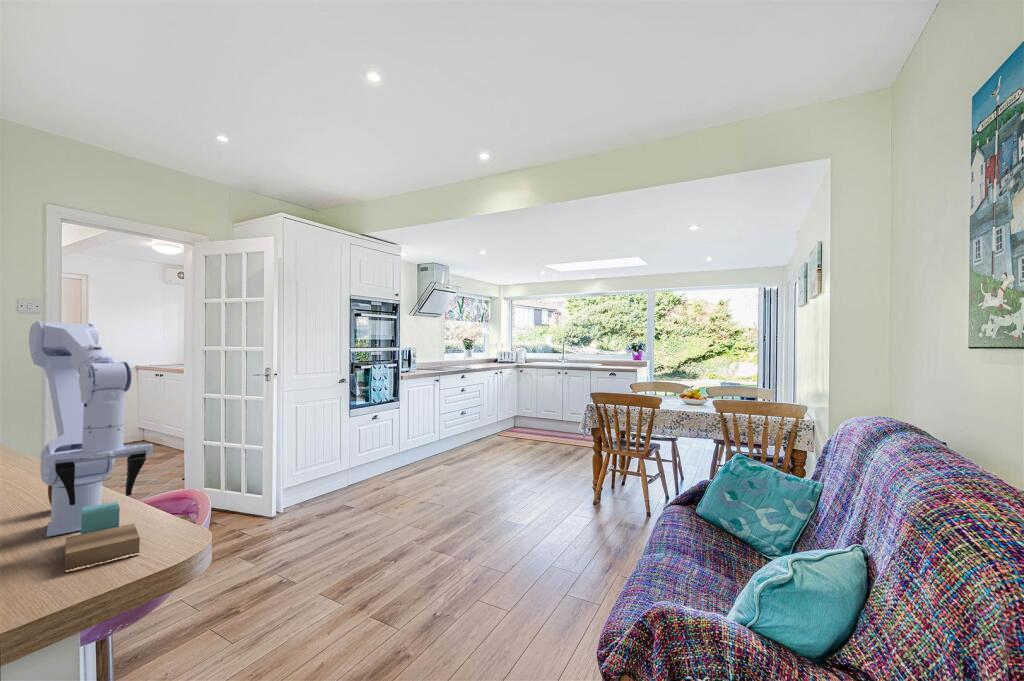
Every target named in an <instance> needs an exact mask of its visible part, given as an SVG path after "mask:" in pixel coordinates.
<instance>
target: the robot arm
mask: <svg viewBox="0 0 1024 681" xmlns="http://www.w3.org/2000/svg"><path fill="white" fill-rule="evenodd" d="M28 334H29V335H28V345H29V352H30V357H31V360H32V362H33V364H34V365H36V366H38V367H40V368H42V369H44V371H45V375H46V377H47V382H48V386H49V392H50V397H51V398H50V399H51V404H52V409H53V410H52V411H53V416H54V421H55V426H56V427H55V428H56V433H57V437H56V438H55V439H53V440H51V441H50V442H48V443H47V444H46V445H45V446H44V448H43V449H42V450H41V453H40V470H39V471H40V478H41V481H42V482H43V483H44V484H45V485H47V486H49V485H51V486H52V502H51V505H50V521H48V523H47V530H46V537H48V538H49V537H53V536H60V535H63V534H68V533H69V534H70V533H75V532H79V531H80V532H81V516H82V508H84V507H90V506H95V505H101V504H102V497H103V496H102V494H103V492H102V491H103V480H106V479H107V476H108V475H110V474H111V472H112V471H113V469H114V466H115V461H116V460H115V459H121V458H127V459H126V469H127V470H126V471H127V472H126V482H125V496H126V497H128V496H132V491H133V488H134V485H135V481H136V480H137V477H138V475H139V473H140V471H141V469H142V467H143V466H144V464H145V462H146V461H147V456H152V455H153V453H154V444H152V443H146V444H144V443H143V444H132V445H130V444H129V445H124V437H125V436H124V434H125V433H124V432H125V431H124V430H125V411H126V410H125V405H126V392H128V391H129V390H130V387H131V385H132V380H133V379H132V377H133V375H132V368H131V366H130V365H129V363H128V362H127V361H116V359H115V358H114V357H113V355H112V354H110V352H109V351H108V350H107V349H106V348H105V347H103V346H102V345H101V344H99V340H100V339H99V337H100V336H99V334H100V333H99V329H98V327H97V326H96V325H95V324H94V323H73V322H71V323H69V322H53V321H50V322H49V321H48V322H47V321H42V320H35V321H34V322H33V323H32V324H31V326H30V328H29V333H28Z"/></svg>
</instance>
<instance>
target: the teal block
mask: <svg viewBox="0 0 1024 681" xmlns="http://www.w3.org/2000/svg"><path fill="white" fill-rule="evenodd" d="M115 527H120V505H119V502H118V501H114V502H108V503H101V505H95V506H90V507H84V508H82V516H81V530H80V534H85V533H90V532H95V531H100V530H105V529H110V528H115Z"/></svg>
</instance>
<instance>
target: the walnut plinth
mask: <svg viewBox="0 0 1024 681" xmlns="http://www.w3.org/2000/svg"><path fill="white" fill-rule="evenodd" d="M140 540H141V539H140V535H139V532H138V530H137V527H136V524H135V523H130V524H125V525H119V527H115V528H110V529H105V530H100V531H95V532H90V533H85V534H81V533H80V534H77V535H71V536H67V537H65V547H64V548H65V550H64V551H65V552H64V571H65V570H70V569H74V568H77V567H82V566H87V565H92V564H95V563H100V562H105V561H108V560H112V559H115V558H119V557H122V556H126V555H130V554H135V553H139V554H140Z"/></svg>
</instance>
